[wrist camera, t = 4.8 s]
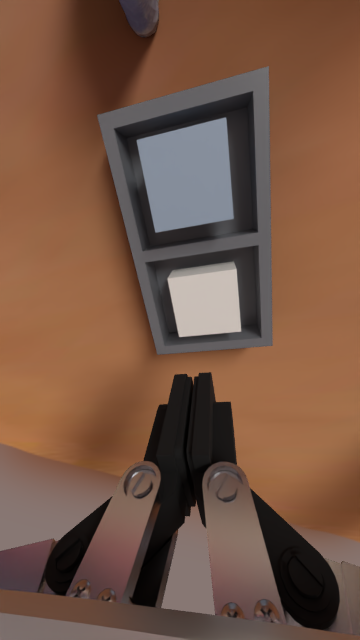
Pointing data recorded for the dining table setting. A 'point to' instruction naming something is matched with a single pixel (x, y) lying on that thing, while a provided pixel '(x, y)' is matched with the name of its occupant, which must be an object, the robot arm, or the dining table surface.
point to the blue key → (188, 175)
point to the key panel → (207, 239)
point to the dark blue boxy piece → (141, 15)
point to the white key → (205, 299)
